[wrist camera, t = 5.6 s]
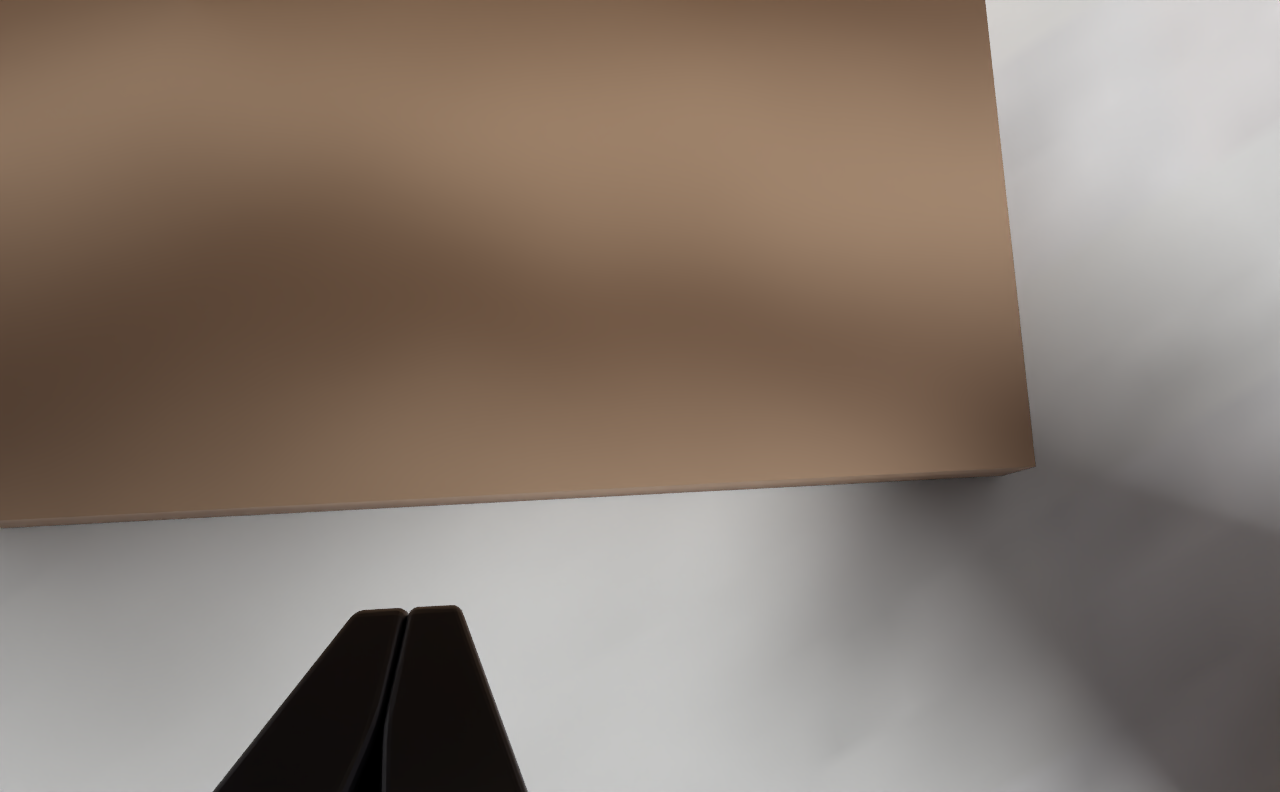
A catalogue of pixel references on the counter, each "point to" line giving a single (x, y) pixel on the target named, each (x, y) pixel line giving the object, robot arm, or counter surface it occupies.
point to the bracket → (496, 252)
